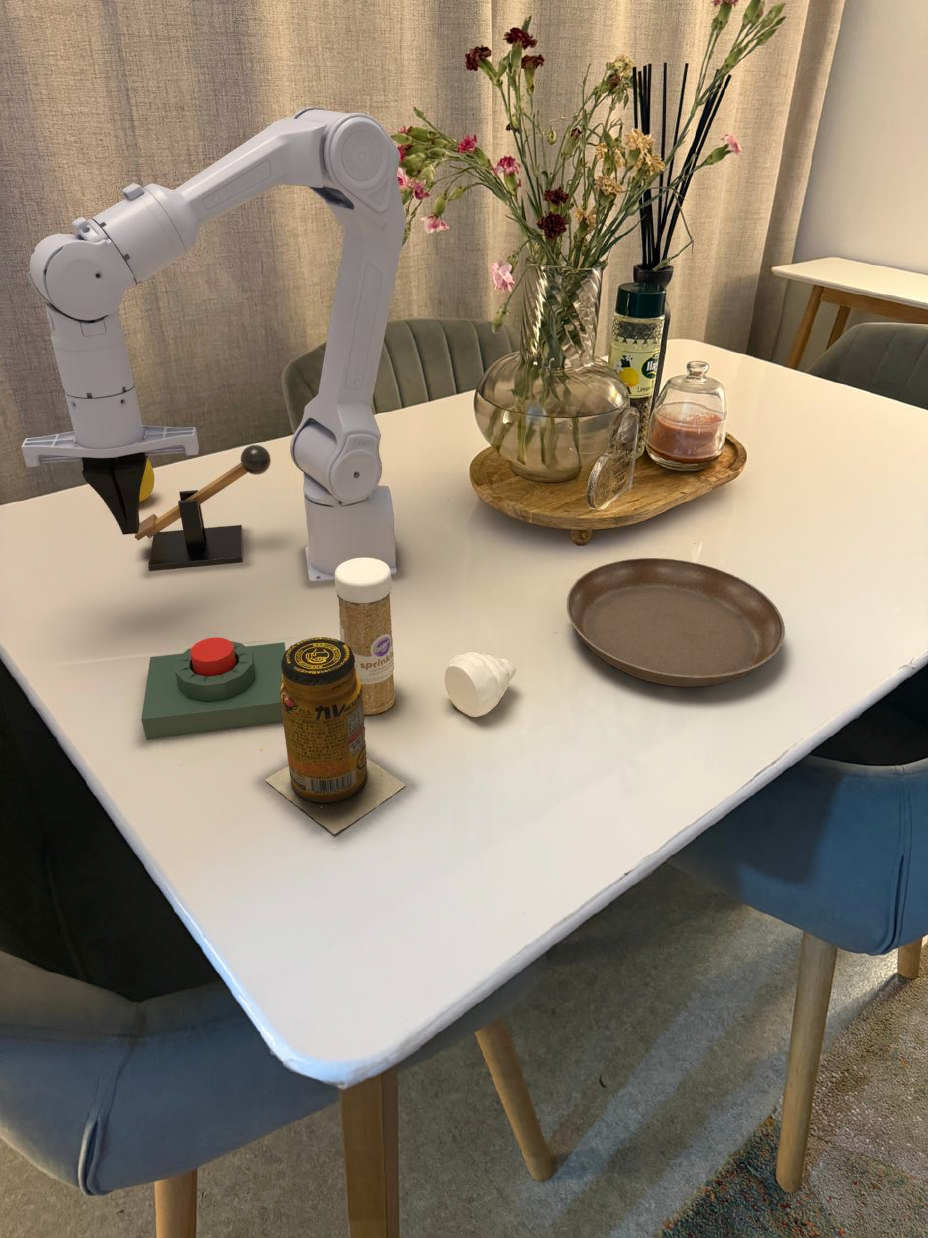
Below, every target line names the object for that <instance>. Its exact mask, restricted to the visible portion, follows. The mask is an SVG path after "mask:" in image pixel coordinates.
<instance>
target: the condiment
mask: <svg viewBox="0 0 928 1238" xmlns="http://www.w3.org/2000/svg"><path fill="white" fill-rule="evenodd" d="M354 663H355V656H354V654H353V652H352V650H351V648H350V647H349V646H348V645H347V644H345V643H344V642H342V641H341V640H339V639H337V638H332V637H327V636H326V637H325V636H318V637H317V636H316V637H311V638H305V639H301V640H300V641H298V642H296V643H294V644H293V645H290V647H288V649H287V650H286V652H285V654H284V656H283V659H282V661H281V668H282V681H283V684H282V686H281V689H280V700H281V708H282V716H283V722H282V724H283V731H284V738H285V745H286V746H285V748H286V755H287V762H288V763H287V765H288V766H286V767H284V768H282V769H279V771H277V772H275V773H273V774H272V775H270V776H268V777H267V778H265V782H267V783H268V784H269V785H270V786H271V787H273V788H274V789H275V790H276V791H277V792H278V793H280V794H282V795H283V796H284V798H286V799H287V800H289V801H290V802H291V803H292V804H294V805H295V806H296V807H298V808H299V809H301V810H303V811H304V812H305V813H306V814H307V815H308V816H309V817H310V818H312V819H313V820H315V822H317V823H319V824H320V825H321V826H323V827H325V828H326V829H327V831H329V832H330V833H332V834H333V835H336V834H337V833H339V832H340V831H342V830H344V829H346V828H347V827H349V826H351V825H352V824H353V823H355V822H356V821H358V820H359V819H361V818H362V817H364V816H366V815H367V814H368V813H370V812H371V811H372V810H374V809H376V808H378V807H379V806H380V805H381V804H382V803H384V802H385V801H387V800H388V799H389V798H391V797H392V796H394V795H395V794H396V793H398V792H399V791H400V790H401V789H403V788H405V787H406V786H407V785H406V784H405V783H404V782H402V781H401V780H400V779H398V778H397V777H395V776H394V775H392V774H391V773H390V772H389V771H387V770H385V769H384V768H382V767H381V766H380V765H378V764H377V763H375V762H373V761H372V760H370V759H368V757H367V754H368V753H367V744H366V743H367V742H366V726H365V714H363V711H364V709H363V697H362V693H363V691H362V685H361V683H360V680H359V678H358V677H357V675H356V668H355V664H354Z"/></svg>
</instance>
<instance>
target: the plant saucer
mask: <svg viewBox="0 0 928 1238" xmlns="http://www.w3.org/2000/svg"><path fill="white" fill-rule="evenodd" d="M566 613H567V615H568V618H569V621H570V622H571V623H570V624H572V626H573V628H574V630H575V632H576V634H577V635H578V636H579V637H580V639H581V640H582V641H583V643H585V644H586V646H588V647H589V649H590V650H591V651H592V652H593V653H594V654H596V655H597V657H600V658H601V659H602V660H603V661H605V662H606V663H608V664H609V665H611V666H612V667H613V668H616V669H618V670H619V671H621V672H624V673H626V674H627V675H630V676H633V677H635V678H638V679H641V680H644V681H648V682H651V683H656V684H660V685H665V686H672V687H689V688H691V687H694V688H695V687H706V686H707V687H708V686H712V685H713V686H714V685H719V684H723V683H726V682H730V681H733V680H737V679H739V678H742V677H744V676H747V675H748V674H750V673H752V672H754V671H755V670H757V669H759V668H760V667H762V666H763V665H764V664H766V663H768V662H769V661H770V660H771V659H772V658H773V657H774V656H776V654H777V653H778V651H779V650H780V648H781V647H782V645H783V643H784V640H785V635H786V627H785V623H784V619H783V616H782V614H781V613H780V611H779V609H778V608H777V606H776V605H775V604H774V603H773V601H772V600H771V599H770V598H769V597H768V596H767V595H766V594H765V593H764V592H762V591H761V590H760V589H758V588H757V587H755V586H754V585H752V584H751V583H749V582H747V581H746V580H745V579H742V578H740V577H738V576H736V575H734V574H731V573H729V572H726V571H724V570H721V569H719V568H716V567H713V566H709V565H705V564H703V563H702V564H701V563H698V562H694V561H688V560H683V559H674V558H664V557H663V558H661V557H647V558H646V557H641V558H639V557H638V558H630V559H622V560H617V561H614V562H609V563H606V564H603V565H600V566H598V567H595V568H593V569H591V570H589V571H587V572H586V573H585V574H583V575H582V576H580V577H579V578H578V579H577V580H576V581H575V582H574V583H573V585H572V586H571V588H570V589H569V591H568V594H567V598H566Z"/></svg>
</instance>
